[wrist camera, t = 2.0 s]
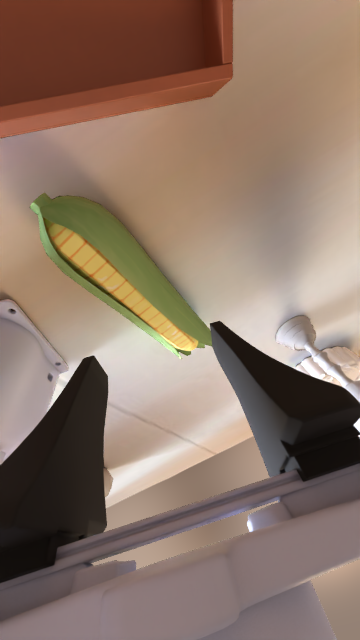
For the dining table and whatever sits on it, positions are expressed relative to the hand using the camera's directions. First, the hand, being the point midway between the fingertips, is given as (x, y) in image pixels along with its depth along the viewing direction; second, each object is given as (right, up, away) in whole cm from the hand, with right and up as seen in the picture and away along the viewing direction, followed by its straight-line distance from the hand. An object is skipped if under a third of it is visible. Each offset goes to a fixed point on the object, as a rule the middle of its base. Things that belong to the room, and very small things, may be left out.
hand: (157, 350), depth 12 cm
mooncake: (+26, -7, +23) cm, 35 cm away
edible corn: (-1, +5, +7) cm, 8 cm away
